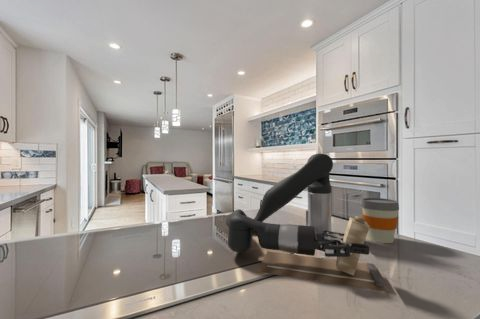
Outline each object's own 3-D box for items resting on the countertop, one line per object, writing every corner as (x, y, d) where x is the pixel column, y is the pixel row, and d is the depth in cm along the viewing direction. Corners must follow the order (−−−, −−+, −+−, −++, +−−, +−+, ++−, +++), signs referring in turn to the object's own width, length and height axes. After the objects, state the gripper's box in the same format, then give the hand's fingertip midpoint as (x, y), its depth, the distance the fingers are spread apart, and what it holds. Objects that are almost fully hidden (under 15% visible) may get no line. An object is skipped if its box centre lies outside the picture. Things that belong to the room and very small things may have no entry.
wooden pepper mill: (336, 268, 58) (353, 216, 57) (335, 262, 62) (351, 213, 61) (353, 275, 57) (371, 222, 56) (351, 268, 61) (367, 218, 60)
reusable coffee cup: (356, 239, 89) (356, 200, 89) (366, 232, 98) (366, 196, 98) (395, 247, 80) (395, 204, 80) (402, 239, 89) (401, 200, 89)
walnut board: (256, 277, 60) (256, 267, 60) (267, 256, 73) (267, 248, 73) (390, 298, 50) (389, 287, 50) (374, 270, 63) (374, 261, 63)
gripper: (298, 244, 70) (361, 251, 65) (294, 263, 57) (373, 274, 51) (298, 219, 70) (361, 224, 65) (294, 233, 57) (373, 240, 51)
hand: (366, 246), depth 58 cm, fingers closed on wooden pepper mill, 4 cm apart
